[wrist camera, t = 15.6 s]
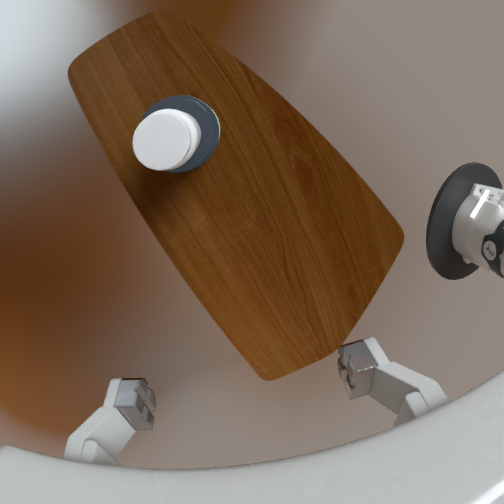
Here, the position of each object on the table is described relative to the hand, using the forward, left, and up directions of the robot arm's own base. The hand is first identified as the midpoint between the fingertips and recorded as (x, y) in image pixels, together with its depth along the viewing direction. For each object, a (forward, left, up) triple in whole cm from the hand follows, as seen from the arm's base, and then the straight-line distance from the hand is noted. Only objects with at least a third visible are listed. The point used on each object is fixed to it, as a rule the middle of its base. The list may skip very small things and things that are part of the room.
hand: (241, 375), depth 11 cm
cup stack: (+3, -9, -32) cm, 34 cm away
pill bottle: (+3, -9, -20) cm, 22 cm away
